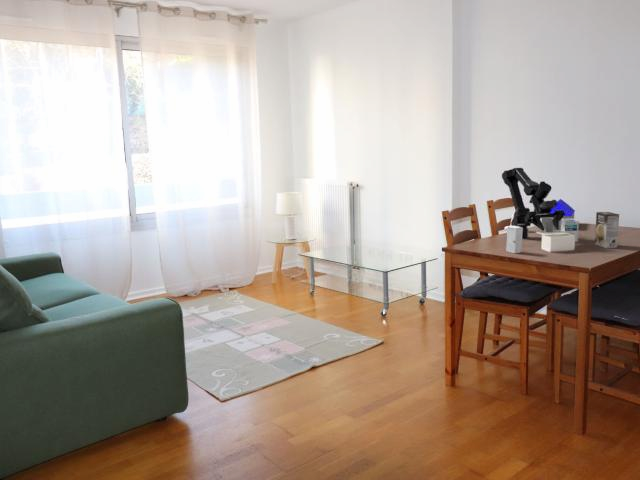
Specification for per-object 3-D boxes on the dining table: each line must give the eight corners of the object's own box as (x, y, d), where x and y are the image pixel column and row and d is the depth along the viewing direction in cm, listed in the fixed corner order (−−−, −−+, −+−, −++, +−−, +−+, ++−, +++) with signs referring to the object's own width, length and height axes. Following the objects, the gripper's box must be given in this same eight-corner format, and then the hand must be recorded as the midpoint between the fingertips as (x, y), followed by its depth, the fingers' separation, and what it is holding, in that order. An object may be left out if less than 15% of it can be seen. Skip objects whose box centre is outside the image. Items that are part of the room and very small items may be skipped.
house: (545, 223, 351) (546, 197, 349) (574, 224, 344) (575, 198, 341) (540, 229, 330) (541, 202, 327) (571, 230, 322) (572, 202, 320)
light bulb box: (578, 242, 286) (579, 221, 284) (564, 242, 288) (564, 221, 286) (573, 238, 297) (574, 218, 295) (559, 238, 298) (560, 218, 296)
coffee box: (594, 244, 279) (595, 212, 276) (606, 244, 279) (608, 211, 276) (604, 248, 270) (606, 214, 267) (617, 247, 270) (619, 213, 267)
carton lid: (535, 232, 276) (536, 221, 275) (559, 231, 278) (560, 220, 277) (545, 235, 268) (545, 224, 267) (569, 234, 270) (569, 222, 269)
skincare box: (505, 251, 270) (506, 226, 268) (513, 250, 272) (513, 225, 270) (515, 253, 264) (515, 227, 262) (522, 252, 266) (523, 227, 264)
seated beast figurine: (503, 230, 330) (503, 209, 328) (517, 229, 331) (518, 208, 328) (510, 232, 321) (510, 211, 318) (525, 232, 321) (525, 210, 319)
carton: (541, 249, 273) (541, 234, 271) (564, 247, 274) (565, 233, 273) (550, 252, 265) (550, 237, 264) (574, 250, 266) (574, 235, 265)
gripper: (528, 195, 275) (539, 220, 267) (563, 193, 278) (576, 218, 269) (519, 209, 285) (530, 234, 276) (554, 207, 287) (566, 232, 278)
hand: (550, 229), depth 274 cm, fingers open, 7 cm apart
